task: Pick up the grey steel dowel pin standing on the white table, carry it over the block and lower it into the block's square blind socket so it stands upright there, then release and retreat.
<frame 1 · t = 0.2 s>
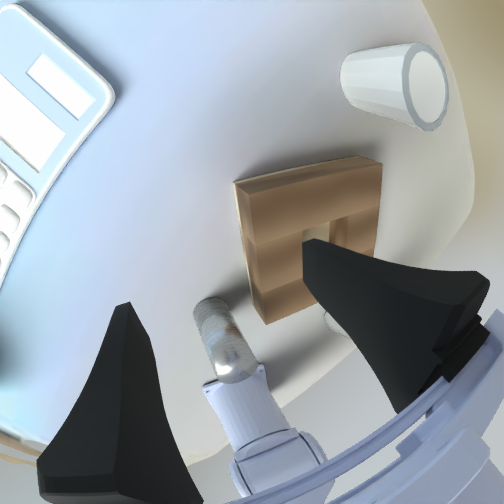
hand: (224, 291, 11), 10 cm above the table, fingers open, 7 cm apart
shot glass: (362, 80, 19), on the table
bore block: (306, 230, 24), on the table
pin: (210, 311, 24), on the table
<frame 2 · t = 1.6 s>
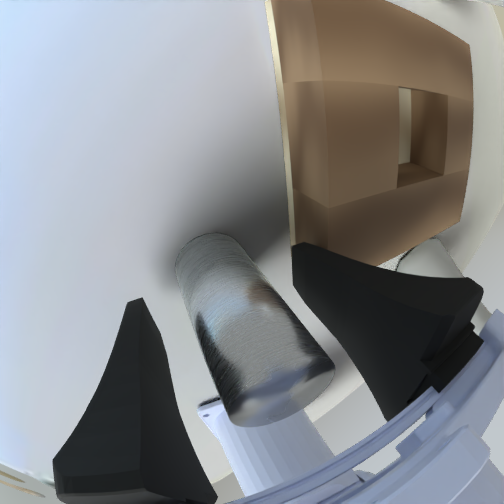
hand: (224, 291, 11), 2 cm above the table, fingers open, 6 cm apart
flask: (410, 272, 21), on the table
bore block: (380, 125, 12), on the table
pin: (210, 266, 12), on the table
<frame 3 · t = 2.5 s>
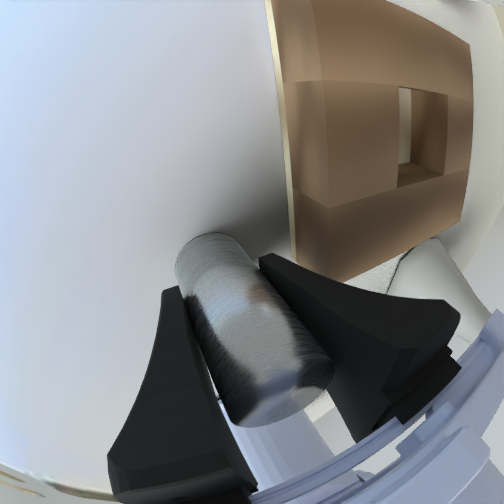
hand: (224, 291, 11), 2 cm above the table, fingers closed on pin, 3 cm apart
flask: (410, 272, 21), on the table
bore block: (380, 125, 12), on the table
pin: (210, 266, 12), on the table, touching gripper
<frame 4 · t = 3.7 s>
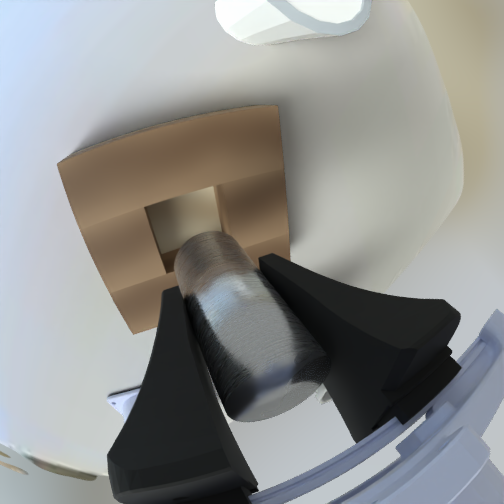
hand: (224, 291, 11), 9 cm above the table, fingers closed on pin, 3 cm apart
shot glass: (255, 11, 13), on the table
bore block: (183, 212, 18), on the table
pin: (209, 263, 12), point 7 cm above the table, touching gripper
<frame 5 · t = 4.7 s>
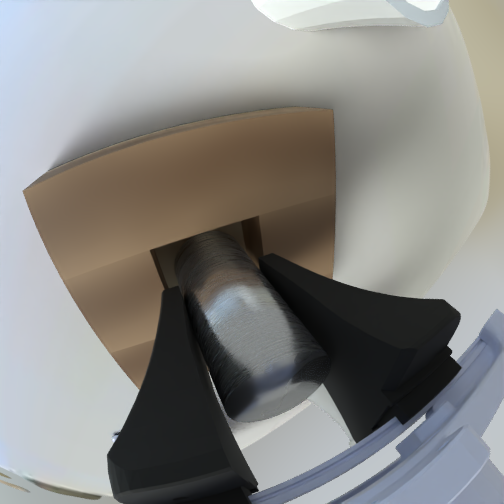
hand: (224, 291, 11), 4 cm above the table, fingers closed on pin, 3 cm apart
flask: (301, 345, 22), on the table
bore block: (199, 245, 14), on the table
pin: (209, 263, 12), point 2 cm above the table, touching gripper
when the fingers open (4 cm above the table, at t = 5.2 s): pin stays where it is, resting on bore block.
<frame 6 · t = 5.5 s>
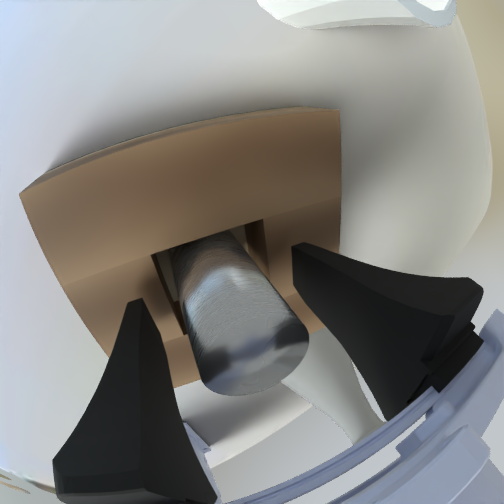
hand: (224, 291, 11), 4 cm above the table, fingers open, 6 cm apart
flask: (303, 348, 22), on the table
bore block: (201, 248, 13), on the table
pin: (202, 250, 13), point 1 cm above the table, touching bore block
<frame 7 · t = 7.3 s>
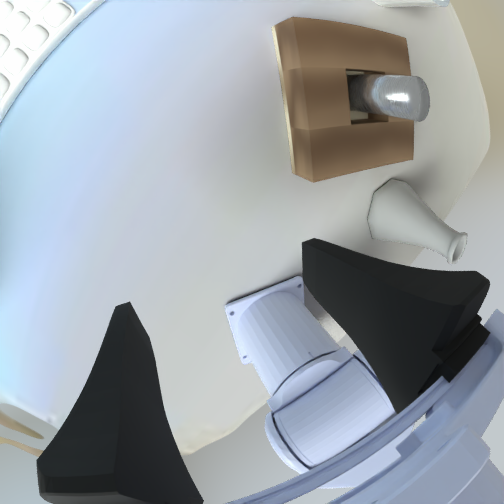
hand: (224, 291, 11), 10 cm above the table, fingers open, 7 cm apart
flask: (386, 208, 28), on the table
calculator: (19, 8, 7), on the table
bore block: (344, 95, 19), on the table
pin: (348, 92, 19), point 1 cm above the table, touching bore block
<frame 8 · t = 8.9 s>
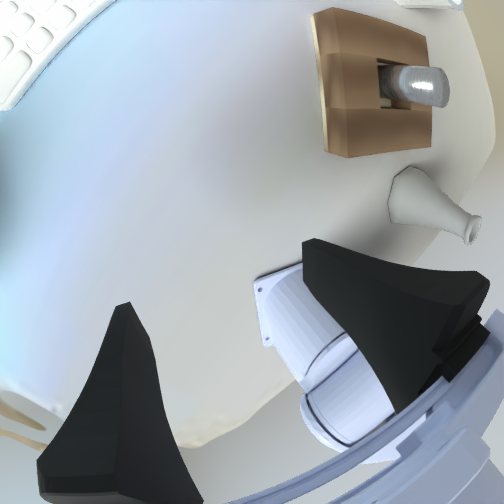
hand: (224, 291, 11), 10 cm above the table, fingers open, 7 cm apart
flask: (404, 194, 28), on the table
bore block: (371, 83, 20), on the table
pin: (374, 81, 19), point 1 cm above the table, touching bore block
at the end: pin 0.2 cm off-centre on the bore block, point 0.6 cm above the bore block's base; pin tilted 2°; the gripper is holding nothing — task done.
